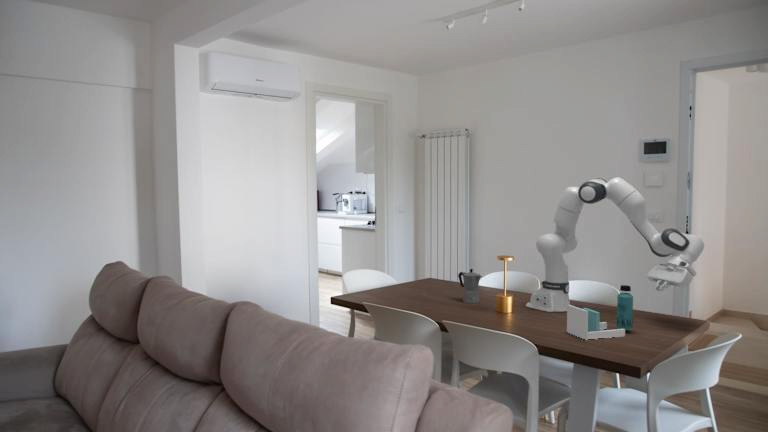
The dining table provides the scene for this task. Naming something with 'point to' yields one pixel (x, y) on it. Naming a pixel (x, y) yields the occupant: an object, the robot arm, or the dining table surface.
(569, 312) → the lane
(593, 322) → the pusher
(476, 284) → the coffeepot
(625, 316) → the beverage bottle
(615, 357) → the dining table surface
